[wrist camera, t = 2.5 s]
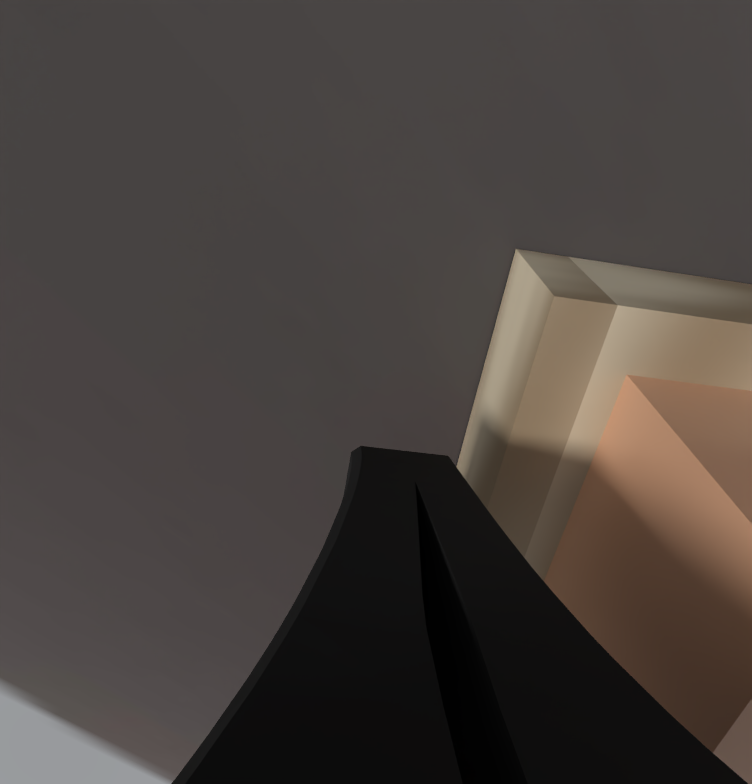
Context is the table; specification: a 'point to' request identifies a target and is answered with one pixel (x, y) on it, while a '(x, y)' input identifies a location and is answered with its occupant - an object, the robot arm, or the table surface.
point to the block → (671, 554)
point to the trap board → (585, 377)
